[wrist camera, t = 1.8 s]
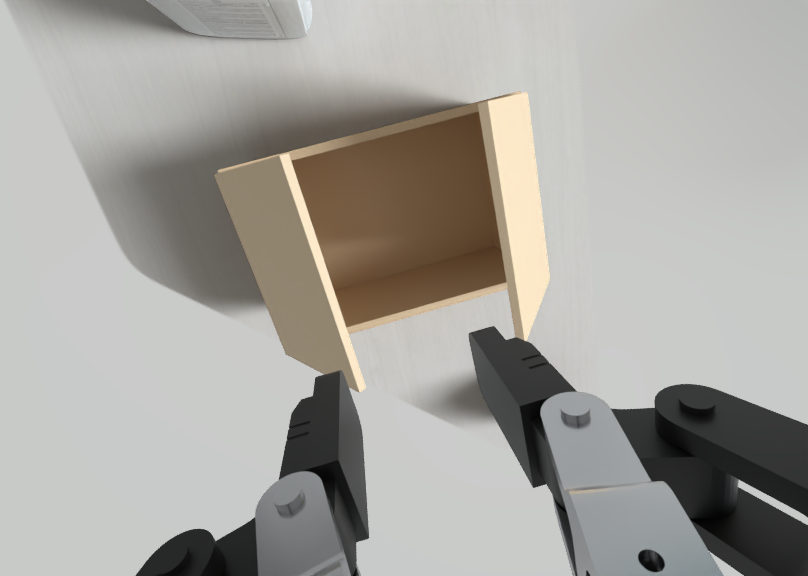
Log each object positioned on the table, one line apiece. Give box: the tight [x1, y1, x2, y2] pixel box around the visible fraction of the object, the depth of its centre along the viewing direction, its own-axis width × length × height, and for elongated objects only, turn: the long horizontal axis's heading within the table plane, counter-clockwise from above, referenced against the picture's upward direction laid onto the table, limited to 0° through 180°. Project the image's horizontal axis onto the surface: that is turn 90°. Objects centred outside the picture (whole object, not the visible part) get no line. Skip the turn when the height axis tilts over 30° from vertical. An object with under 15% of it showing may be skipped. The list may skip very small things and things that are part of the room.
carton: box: [218, 91, 521, 334], centre depth 34 cm, size 14×21×10 cm, turn 104°
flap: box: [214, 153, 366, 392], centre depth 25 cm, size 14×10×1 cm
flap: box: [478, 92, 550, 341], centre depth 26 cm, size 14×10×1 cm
